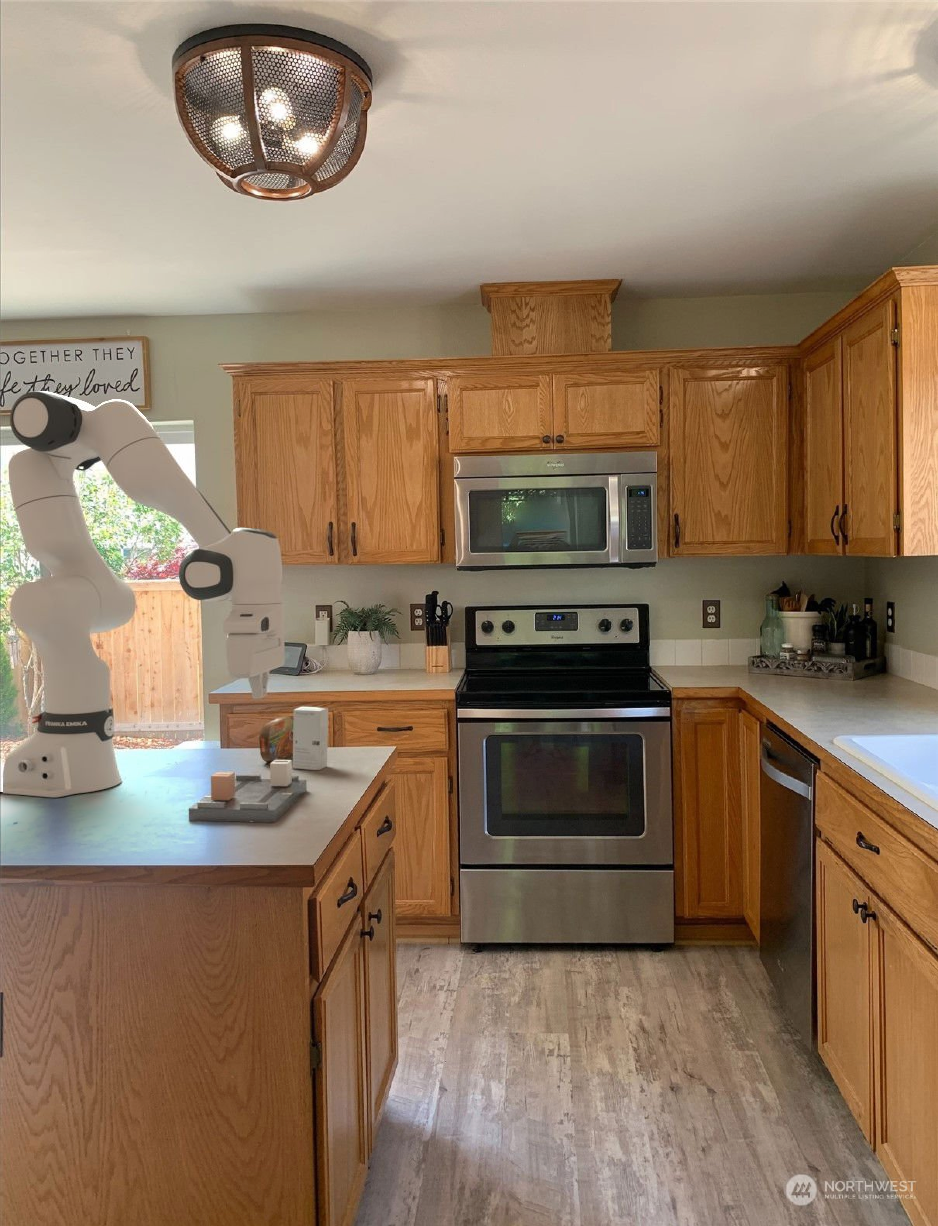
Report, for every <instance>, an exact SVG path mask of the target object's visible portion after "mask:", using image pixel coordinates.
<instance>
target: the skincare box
mask: <svg viewBox="0 0 938 1226" xmlns="http://www.w3.org/2000/svg"><path fill="white" fill-rule="evenodd" d="M293 718H294V721H293V754H292V769H301V770H311V771H319V770H323V769H324V768H326V767H327V766H328V740H329V739H328V737H329V736H328V735H329V733H328V731H329V708H328V707H319V706H318V707H317V706H299V707H297V708H295V709H293Z"/></svg>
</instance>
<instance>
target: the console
mask: <svg viewBox="0 0 938 1226" xmlns="http://www.w3.org/2000/svg"><path fill="white" fill-rule="evenodd" d="M306 792H307V779H300V776H299V775H292V782H291V783H290V784H289V785H288V786H270V778H267V779H266V778H262V774H236V775H235V796H234V797H233V798H231V799H230V800H211V792H210V793H209V794H207V795H205V796H204V797H202V798H201V799H200V800H199V801H197V802H196V803H194V804H193V805H191V806H190V807H188V821H189V820H190V821H192V822H193V821H194V822H225V821H245V822H244V823H251V822H250V821H253V822H252V823H265V822H268V823H269V822H271V823H272V822H274V823H275V822H277V820H278V819H280V818H281V817H282V816H283V815H284V813H286V812H287V811H288V808H289V809H290V808H291V807H292V806H293V804H295V803H296V802H297V801H298V800H299V799H300V798H302V796H304V794H305V793H306ZM285 811H286V812H285ZM268 823H267V824H268ZM269 824H270V823H269ZM272 824H273V823H272Z"/></svg>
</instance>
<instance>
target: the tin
mask: <svg viewBox="0 0 938 1226" xmlns="http://www.w3.org/2000/svg"><path fill="white" fill-rule="evenodd" d="M293 721H294V716H291V715H290V716H280V717H277V718H275V719H273V720H271V721H269V722H267V723H264V724H263V725H262V727H261V729H260V731H259V735H258V739H259V740H258V741H259V751H260V753H259V754H260V757H261V759H262V760H263V761H264V762H266V763H272V762H273V761H274V760H286V759H287V758H289V757H290V756H293Z"/></svg>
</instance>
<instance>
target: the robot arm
mask: <svg viewBox="0 0 938 1226" xmlns="http://www.w3.org/2000/svg"><path fill="white" fill-rule="evenodd" d="M10 410H11V411H10V415H9V425H10V428H11V431H12V433H13V435H14V436H15V438H16V439H17V440H18V441H19V442H21V443H22V444H23V445H25V447H26V446H27V447H26V448H23V449H21V450H18V451H17V452H15V453H14V454H13V455H12V456H11V458H10V459H9V462H8V467H7V468H8V469H7V470H8V480H9V482H8V483H9V488H10V489H9V491H10V494H11V499H12V504H13V508H14V511H15V515H16V518H17V522H18V523H17V524H18V526H19V530H20V533H21V536H22V539H23V543H24V546H25V549H26V552H27V553H28V554H29V555H30V557H32V558H33V559H35V560H36V561H38V562H39V563H40V564H41V565H42V566H44V567H45V568H46V569H47V571H48V572H49V573H50V575H51V576H49V575H48V576H44V577H40V578H35V579H33V580H30V581H27V582H23V583H22V584H20V585H19V586H17V587H16V589H15V590H14V591H13V594H12V596H11V599H10V602H9V603H10V605H9V610H10V616H11V619H12V621H13V623H14V625H15V626H16V628H17V629H18V630H19V631H21V632H22V633H23V634H25V636H26V637H28V638H29V640H30V641H31V642H32V644H33V646H34V647H35V650H36V651H37V654H38V656H39V659H40V662H41V664H42V665H41V666H42V669H43V675H44V676H43V677H44V689H45V693H44V694H45V711H42V712H41V713H40V714H38V715H36V716H32V718H31V719H33V721H31V724H36V723H37V724H38V726H37V728H36V731H35V733H33V734H32V735H31V736H29V737H28V738H27V739H25V740H24V741H23V742H22V743H21V744H19V745H18V746H16V748H14V749H13V750H12V751H10V752H9V753H8V755H7V756H6V758H5V761H4V764H3V771H2V777H3V793H2V794H10V795H22V796H33V797H43V798H44V797H46V798H62V797H65V796H66V797H67V796H70V795H75V794H83V793H90V792H95V791H96V792H97V791H101V790H104V789H109V788H112V787H116V786H117V785H119V784H120V783H121V782H122V781H123V780H122V777H121V775H120V771H119V768H118V764H117V759H116V755H115V754H116V753H115V747H114V735H115V734H114V733H115V721H114V718H115V717H114V707H112V705H111V704H112V700H111V698H112V697H111V669H110V665H108V663H107V662H106V661H105V660H104V659H102V658H100V657H99V656H98V655H97V653H96V650H95V649H94V647H93V643H92V640H91V639H92V638H91V635H92V634H101V633H107V632H110V631H112V630H115V629H118V628H121V627H122V626H124V625H126V624H128V623H129V622H130V621H131V619H132V618H133V617H134V615H135V612H136V608H137V606H136V605H137V601H136V595H135V593H134V591H133V589H132V587H131V586H130V585H129V583H127V582H126V581H124V580H123V579H122V578H120V577H119V576H118V575H117V574H115V572H114V571H113V570H112V569H111V568H110V566H109V565H108V563H107V562H106V560H105V559H104V558H103V556H102V554H101V553H100V552H99V550H98V548H97V546H96V544H95V542H94V541H93V539H92V536H91V534H90V531H89V528H88V525H87V522H86V519H85V516H84V513H83V509H82V505H81V502H80V498H79V495H78V492H77V488H76V486H75V482H74V473H75V471H76V470H77V471H81V472H84V471H87V470H89V469H90V468H92V466H94V465H95V464H97V463H99V462H102V463H103V465H104V467H105V468H106V470H107V472H108V474H109V475H110V476H111V477H112V480H113V481H114V483H115V484H116V485H117V486H118V487H119V489H120V490H121V491H122V492H123V493H124V494H126V496H127V497H128V498H130V499H131V500H132V501H133V502H135V503H137V504H141V505H143V506H146V507H148V508H149V509H153V510H156V511H159V512H161V513H163V514H166V515H167V516H168V517H171V518H172V519H174V520H175V521H176V522H178V523H180V524H181V525H182V526H183V527H184V529H185V530H186V531H187V532H188V533H189V535H190V536H191V537H192V539H193V541H195V543H196V544H197V545H198V547H199V548H197V549H193V550H191V551H189V552H188V553H186V554H185V556H184V557H183V558H182V560H181V562H180V565H179V569H178V580H179V583H180V586H181V588H182V590H183V592H184V594H186V595H187V596H188V597H189V598H191V599H193V600H197V601H201V602H226V601H229V602H230V601H231V611H230V613H229V615H228V617H226V618H225V619H224V621H223V627H222V628H223V633H224V634H227V636H226V641H225V642H226V643H225V644H226V645H225V646H226V650H225V651H226V662H227V671H228V673H229V676H230V678H231V679H248V683H249V687H250V688H251V698H252V699H253V700H261V699H262V698H263V699H264V698H265V697H267V695H268V684H269V681H270V671H272V670H275V669H278V668H280V667H283V666H284V665H285V661H286V650H285V648H286V647H285V637H284V636H285V635H284V631H283V630H284V601H283V596H282V592H281V585H282V581H283V562H282V561H283V560H282V553H281V552H282V551H281V546H280V542H279V539H278V537H277V535H275V534H274V533H272V532H271V531H268V530H264V529H258V528H252V527H251V528H250V527H238V528H235V529H233V530H232V531H230V529H229V528H228V526H227V525H226V523H224V521H223V520H222V519H221V517H220V516H219V514H218V513H217V512H216V511H215V509H214V508H213V507H212V505H211V504H210V502H209V501H208V500H207V499H206V497H204V495H203V494H202V492H200V490H199V489H198V488H197V487H196V486H195V484H194V483H193V481H192V480H191V479H190V478H189V477H188V476H187V473H186V472H185V471H184V470H183V469H182V467H181V466H180V465H179V463H178V461H177V460H176V459H175V457H174V456H173V454H172V453H171V451H170V449H169V448H168V447H167V445H166V444H165V442H164V441H163V439H162V438H161V436H160V435H159V433H158V432H157V430H155V428H154V427H153V426H152V424H151V423H150V422H149V421H148V420H147V417H145V416H144V414H143V413H141V411H140V410H139V409H137V407H135V406H134V405H133V403H130V402H129V401H126V400H123V399H111V400H108V401H104V402H102V403H101V404H98V405H97V406H95V405H94V406H93V405H91V404H89V403H87V402H86V401H82V400H81V399H77V398H75V397H68V396H64V395H61V394H60V395H59V394H57V393H55V392H52V391H45V390H43V391H41V390H37V391H36V390H35V391H30V392H29V391H28V392H26V393H24V394H22V395H21V396H19V398H17V400H16V401H15V402H14V403H13V405H12V408H11V409H10Z"/></svg>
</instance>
